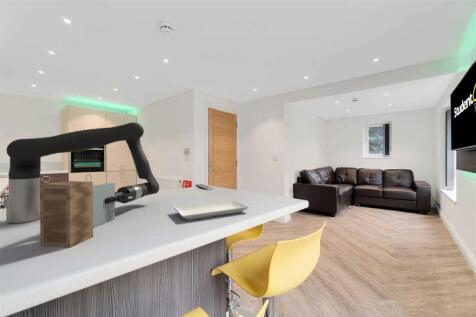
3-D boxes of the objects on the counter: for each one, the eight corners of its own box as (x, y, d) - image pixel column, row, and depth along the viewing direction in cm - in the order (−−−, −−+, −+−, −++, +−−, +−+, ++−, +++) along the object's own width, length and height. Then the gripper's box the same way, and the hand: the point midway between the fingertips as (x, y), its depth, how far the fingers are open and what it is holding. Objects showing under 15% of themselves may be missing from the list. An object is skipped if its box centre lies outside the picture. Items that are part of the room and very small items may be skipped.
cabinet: (70, 247, 61) (69, 184, 61) (35, 245, 63) (34, 184, 63) (103, 232, 74) (103, 180, 74) (73, 230, 75) (73, 179, 75)
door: (91, 228, 77) (90, 187, 77) (83, 228, 78) (83, 187, 78) (114, 218, 89) (114, 183, 89) (108, 218, 90) (108, 182, 89)
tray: (250, 213, 99) (250, 206, 99) (182, 224, 84) (182, 215, 84) (233, 206, 114) (233, 199, 113) (172, 213, 98) (172, 206, 98)
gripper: (116, 185, 102) (85, 191, 85) (143, 185, 100) (117, 192, 83) (116, 201, 102) (85, 210, 85) (143, 201, 100) (117, 211, 83)
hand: (101, 201), depth 84 cm, fingers closed on door, 3 cm apart
